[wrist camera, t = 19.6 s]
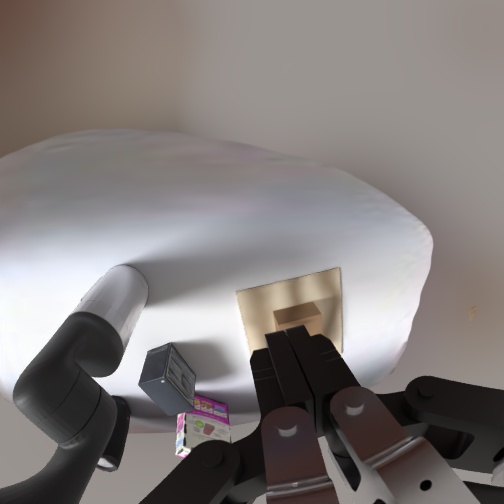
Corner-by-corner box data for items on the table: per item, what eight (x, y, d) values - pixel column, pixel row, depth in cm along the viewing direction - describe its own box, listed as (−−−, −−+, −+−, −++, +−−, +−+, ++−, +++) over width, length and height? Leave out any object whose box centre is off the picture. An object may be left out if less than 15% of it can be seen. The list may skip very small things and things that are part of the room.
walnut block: (272, 311, 51) (279, 354, 54) (278, 324, 46) (285, 369, 50) (312, 301, 52) (315, 344, 55) (321, 313, 47) (323, 358, 50)
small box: (145, 351, 51) (135, 384, 41) (170, 341, 51) (164, 375, 41) (172, 383, 54) (168, 418, 44) (196, 375, 54) (195, 410, 44)
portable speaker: (132, 398, 55) (118, 461, 36) (132, 419, 57) (121, 477, 39) (100, 389, 53) (79, 449, 34) (103, 410, 55) (86, 466, 37)
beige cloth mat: (256, 376, 56) (256, 378, 56) (235, 291, 49) (235, 292, 49) (340, 353, 58) (341, 355, 57) (338, 267, 51) (339, 268, 50)
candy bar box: (177, 401, 56) (173, 455, 41) (186, 389, 55) (182, 446, 40) (218, 415, 59) (223, 467, 44) (228, 404, 58) (234, 458, 43)
